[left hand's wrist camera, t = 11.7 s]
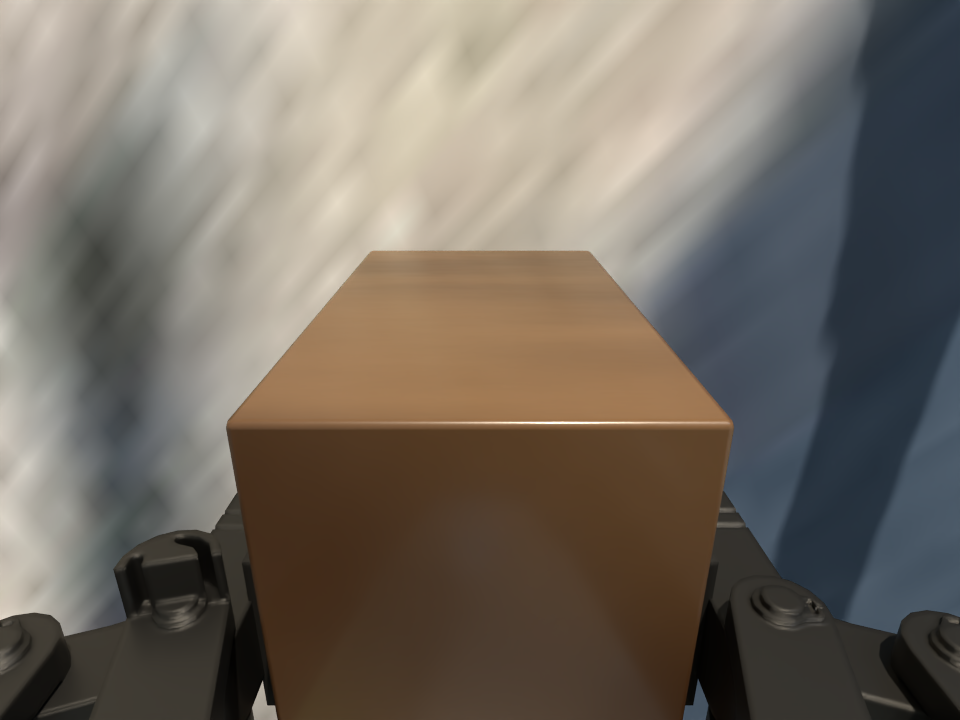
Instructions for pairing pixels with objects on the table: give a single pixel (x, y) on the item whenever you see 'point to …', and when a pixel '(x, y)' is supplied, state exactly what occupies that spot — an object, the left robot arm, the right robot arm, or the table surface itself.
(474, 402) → the bar
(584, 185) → the table surface
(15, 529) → the table surface
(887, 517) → the table surface
